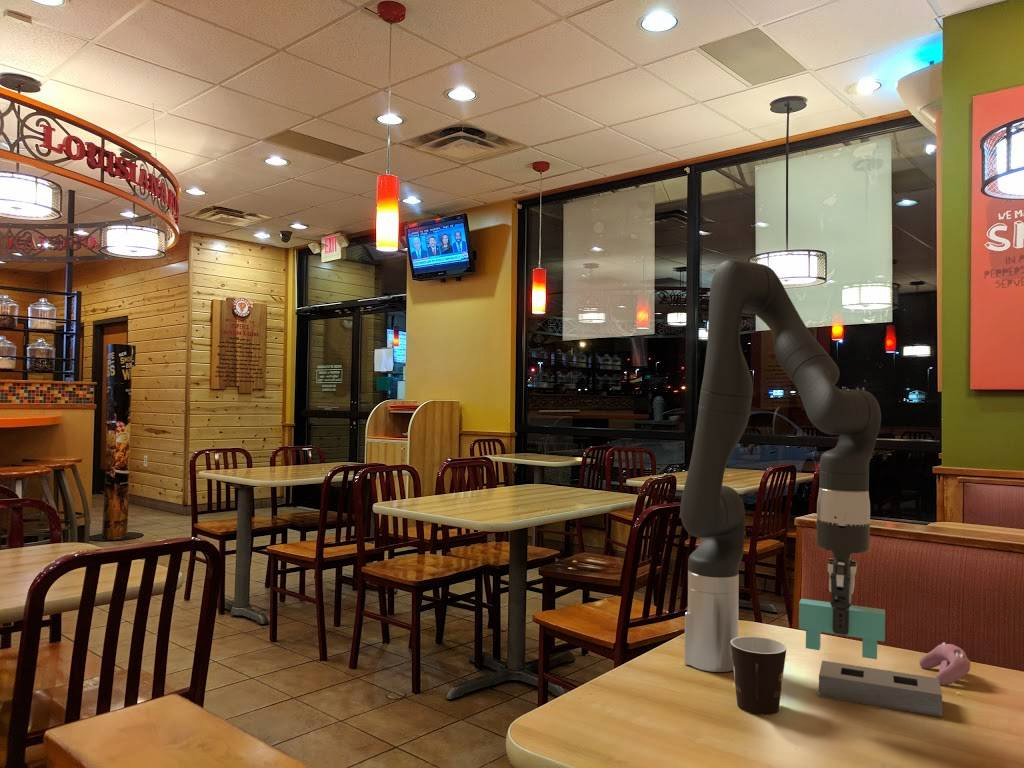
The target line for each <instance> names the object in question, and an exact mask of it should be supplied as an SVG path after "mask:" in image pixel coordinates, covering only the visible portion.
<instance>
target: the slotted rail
mask: <svg viewBox="0 0 1024 768" xmlns="http://www.w3.org/2000/svg"><path fill="white" fill-rule="evenodd" d="M818 697H821V698H822V697H823V698H828V699H835V700H840V701H846V702H851V703H858V704H863V705H868V706H875V707H879V708H884V709H885V708H886V709H891V710H897V711H902V712H903V711H904V712H908V713H914V714H921V715H927V716H933V717H938V718H943V693H942V688H941V685H940V683H939V678H936V677H931V676H927V675H926V676H925V675H918V674H912V673H907V672H906V673H905V672H900V671H893V670H886V669H880V668H879V669H878V668H873V667H866V666H861V665H853V664H847V663H840V662H834V661H828V660H827V661H826V660H822V661H821V665H820V669H819V674H818Z"/></svg>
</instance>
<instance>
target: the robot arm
mask: <svg viewBox="0 0 1024 768" xmlns="http://www.w3.org/2000/svg"><path fill="white" fill-rule="evenodd" d="M742 314H749V315H750V314H754V315H755V316H756V317H757V318H759V319H760V320H761V321H762V322H763V323H764V324H766V326H767V328H769V331H771V335H772V339H773V350H774V355H775V357H776V359H777V362H778V363H779V365H780V367H781V368H782V370H783V371H784V372H785V373H786V375H787V376H788V378H789V379H790V380H791V382H792V383H793V385H794V386H795V387H796V389H797V390H798V394H799V396H800V400H801V402H802V405H803V408H804V411H805V412H806V416H807V417H808V419H809V421H810V422H811V424H812V425H813V426H814V427H815V428H816V429H817V430H819V431H820V432H822V433H824V434H827V435H834V436H835V435H836V436H837V435H839V437H838V440H837V443H836V446H835V447H834V448H831V449H829V450H827V451H825V452H823V453H822V454H821V455H820V458H819V479H818V481H819V484H818V485H819V488H818V495H817V500H816V501H817V502H816V539H815V541H816V545H817V547H818V548H820V549H821V550H824V551H830V552H832V553H833V558H831V557H829V558H828V561H827V573H829V577H828V590H829V592H830V595H831V596H830V602H831V603H830V604H831V607H832V608H833V632H834V633H836V634H835V635H838V634H843V635H842V636H844V635H847V634H848V632H849V610H850V608H851V605H852V604H851V602H852V601H853V598H852V595H853V594H854V590H855V585H856V584H855V583H856V580H855V579H856V577H855V576H856V574H857V561H855V560H853V558H852V554H863V553H867V552H868V551H869V550H870V545H871V544H870V543H871V541H870V540H871V538H870V537H871V536H870V535H871V501H870V493H869V490H870V489H869V488H870V487H869V485H870V462H871V459H872V456H873V453H874V451H875V446H876V442H877V441H878V440H877V439H878V435H879V432H880V428H881V425H882V423H881V422H882V412H881V407H880V404H879V402H878V400H877V398H876V397H875V396H874V394H872V393H871V392H869V391H867V390H862V389H846V388H845V389H843V388H838V387H837V386H836V384H838V383H837V382H838V381H839V378H840V369H839V367H838V365H837V364H836V362H835V360H833V358H832V357H831V355H829V353H828V352H827V351H826V350H825V348H824V347H823V346H822V345H821V344H820V343H819V341H818V340H817V339H816V338H815V337H814V335H813V334H812V333H811V331H810V330H809V329H808V327H807V326H806V324H805V322H804V320H803V319H802V317H801V316H800V314H799V312H798V310H797V309H796V306H794V304H793V301H792V300H791V298H790V297H789V294H788V292H787V290H786V289H785V287H784V284H783V283H782V281H781V280H780V278H779V276H778V275H777V273H776V272H775V271H774V270H773V269H772V268H771V267H769V266H768V265H764V264H762V263H757V262H755V263H754V262H750V261H744V260H739V259H726V260H724V261H722V262H721V263H720V264H719V265H718V266H717V268H716V269H715V270H714V273H713V275H712V279H711V283H710V289H709V302H708V324H707V325H708V327H707V328H708V329H707V343H706V352H705V353H706V354H705V360H704V361H705V363H704V369H703V377H702V383H701V388H700V394H699V403H698V411H697V419H696V427H695V433H694V439H693V443H692V444H693V445H692V452H691V458H690V463H689V467H688V470H687V475H686V479H685V482H684V486H683V490H682V495H681V500H680V508H679V512H680V519H681V524H682V526H683V528H684V530H685V531H686V532H687V533H688V534H689V535H690V536H692V537H694V538H695V537H696V538H700V539H701V541H700V543H699V545H698V546H697V548H696V549H695V550H693V551H692V553H690V555H689V556H688V561H687V610H686V612H685V613H684V665H686V666H687V665H688V666H691V667H693V668H695V669H698V670H701V671H706V672H713V673H715V672H716V673H725V672H726V673H727V672H732V671H734V669H733V660H732V651H731V642H730V641H731V640H732V639H734V638H737V637H739V601H740V600H739V589H740V588H739V584H740V583H739V582H740V581H739V578H740V577H739V575H740V574H739V571H740V569H739V568H740V565H741V561H742V559H743V556H744V549H745V529H746V512H745V505H744V502H743V499H742V498H741V496H740V494H739V493H738V492H737V490H735V489H734V488H732V487H730V486H727V485H723V481H724V476H725V472H726V467H727V464H728V461H729V459H730V457H731V456H732V454H733V452H734V450H735V448H736V447H737V445H738V443H739V442H740V440H741V438H742V436H743V434H744V433H745V431H746V428H747V426H748V424H749V420H750V414H751V408H752V403H753V402H752V401H753V396H754V395H753V394H754V382H753V378H752V374H751V371H750V368H749V366H748V363H747V360H746V357H745V355H744V353H743V350H742V345H741V335H740V333H741V332H740V330H741V321H742Z"/></svg>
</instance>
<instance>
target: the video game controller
mask: <svg viewBox="0 0 1024 768" xmlns="http://www.w3.org/2000/svg"><path fill="white" fill-rule="evenodd" d="M918 664H919V666H920V668H922V669H924V670H929V669H932V668H937V667H938V666H939V668H938V671H939V672H938V673H937V674H936V675H935V678H939V683H940V686H948V685H952V684H954V683H956V682H957V681H959V680H960V679H961V678H963V677H964V676H966V675H967V674H968V673H969V672H970V671H971V660H970V659H969V658H968V656H967V654H966V652H965V651H964V650H963V649H962V648H961V647H959V646H957V645H955V644H952V643H947V644H946V642H942V643H941V644H937V646H935V647H934V649H932V650H931V651H929V652H928V653H925V654H924V655H922V657H921V658H920V660H919V663H918Z"/></svg>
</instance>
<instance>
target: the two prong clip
mask: <svg viewBox="0 0 1024 768" xmlns="http://www.w3.org/2000/svg"><path fill="white" fill-rule="evenodd" d="M830 603H831V601H824V600H816V599H808V598H801V599H800V600H799V603H798V630H804V631H805V649H809V650H814V651H820V650H821V643H822V642H821V633H825V634H832V635H839V636H844V637H845V636H846V637H851V638H852V637H853V638H857V639H858V638H859V639H862V641H861V642H862V643H861V644H862V645H861V646H862V651H861V652H862V653H861V655H862V656H861V657H862V658H866V659H871V660H872V659H873V660H878V642H886V641H885V640H886V639H885V638H886V630H885V629H886V609H884V608H883V609H882V608H875V607H869V606H862V605H861V606H860V605H855V604H850V605H851V608H850V610H849V632H848V634H847V635H843V634H836V633H834V632H833V608H832V607H831V604H830Z"/></svg>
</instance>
